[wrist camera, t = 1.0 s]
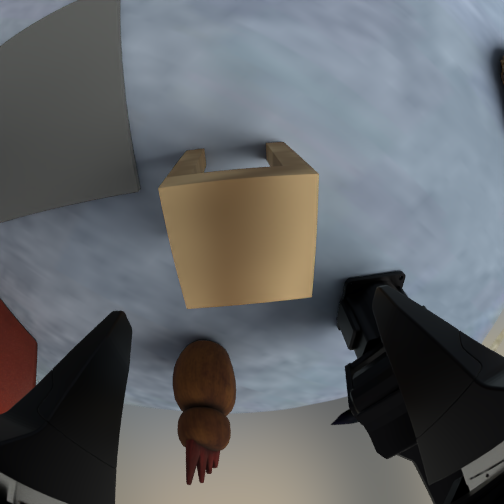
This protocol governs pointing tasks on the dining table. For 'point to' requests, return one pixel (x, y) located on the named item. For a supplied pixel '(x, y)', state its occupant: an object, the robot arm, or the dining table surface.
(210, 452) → the wooden figurine
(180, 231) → the oak stool
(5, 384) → the plant pot
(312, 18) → the dining table surface
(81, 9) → the charcoal mat
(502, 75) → the decorative rock
